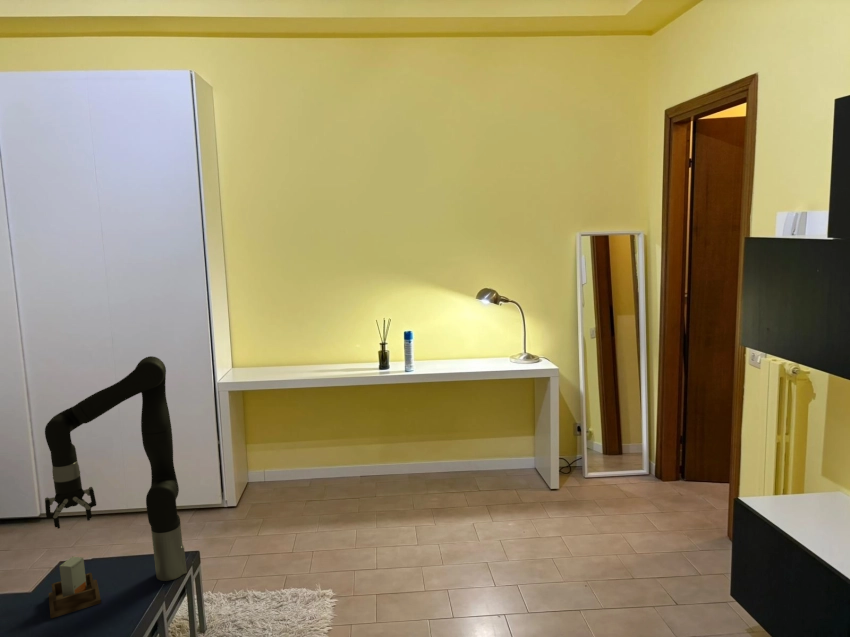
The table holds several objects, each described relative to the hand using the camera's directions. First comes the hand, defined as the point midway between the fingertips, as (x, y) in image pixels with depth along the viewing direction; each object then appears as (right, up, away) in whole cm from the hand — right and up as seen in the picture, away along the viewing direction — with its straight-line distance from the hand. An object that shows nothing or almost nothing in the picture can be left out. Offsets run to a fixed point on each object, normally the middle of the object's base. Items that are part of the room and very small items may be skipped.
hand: (73, 523), depth 208 cm
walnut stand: (+1, -24, -2) cm, 24 cm away
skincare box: (+2, -23, -2) cm, 23 cm away
